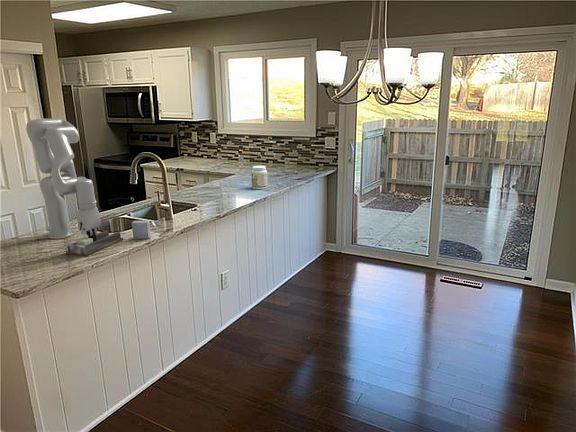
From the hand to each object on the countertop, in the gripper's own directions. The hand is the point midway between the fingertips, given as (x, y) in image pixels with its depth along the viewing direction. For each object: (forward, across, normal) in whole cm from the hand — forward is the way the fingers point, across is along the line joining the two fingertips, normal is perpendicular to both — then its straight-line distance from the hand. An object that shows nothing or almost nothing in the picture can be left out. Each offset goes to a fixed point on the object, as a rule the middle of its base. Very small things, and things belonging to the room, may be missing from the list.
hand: (92, 242), depth 201 cm
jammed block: (+1, +5, 0) cm, 5 cm away
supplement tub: (+3, -148, +23) cm, 150 cm away
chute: (+3, -2, 0) cm, 3 cm away
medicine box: (+3, -19, +13) cm, 24 cm away
